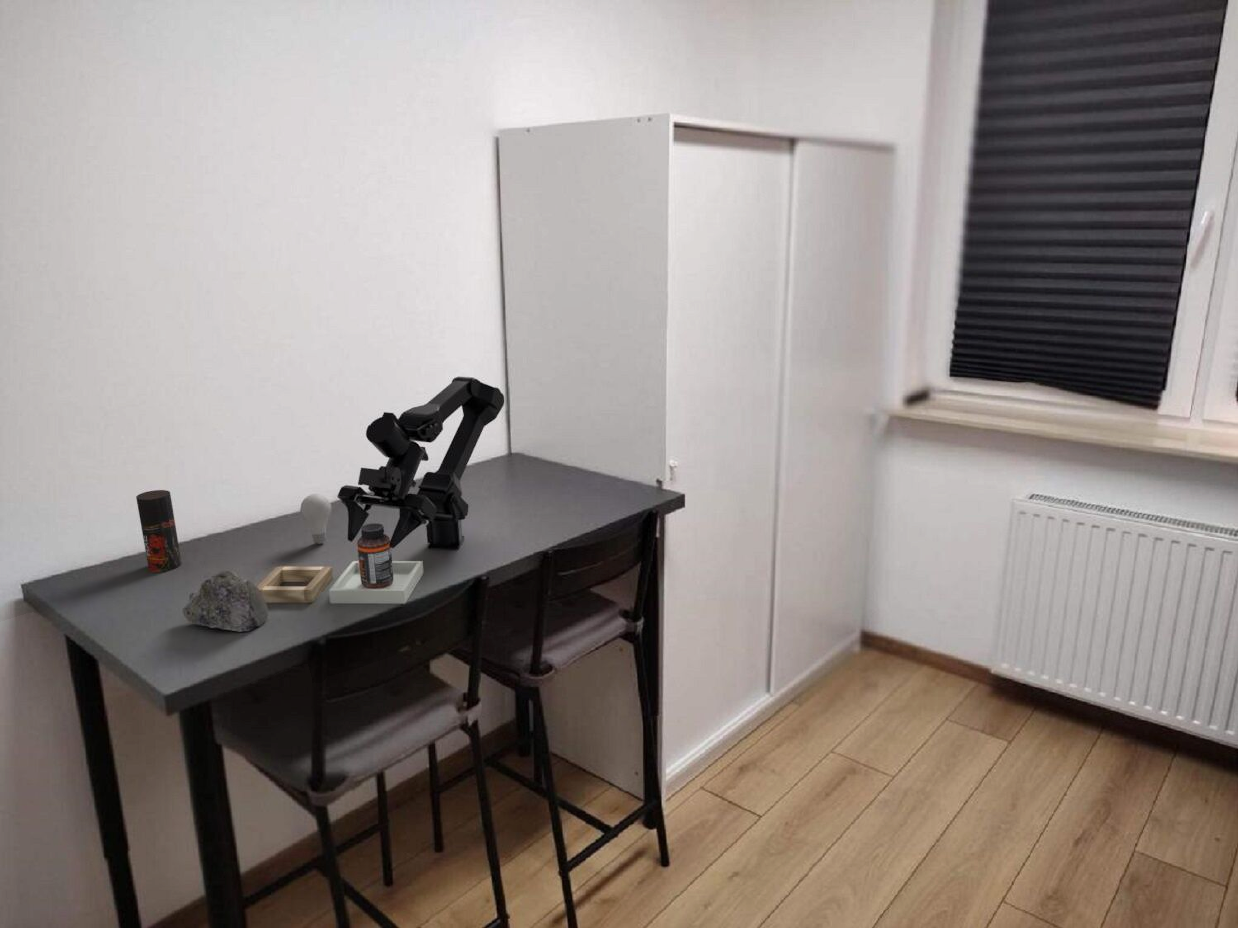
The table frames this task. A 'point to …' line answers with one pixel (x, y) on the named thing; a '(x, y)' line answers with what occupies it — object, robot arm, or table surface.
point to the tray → (394, 593)
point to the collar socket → (295, 594)
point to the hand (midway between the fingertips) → (370, 544)
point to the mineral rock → (227, 603)
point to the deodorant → (159, 530)
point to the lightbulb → (316, 515)
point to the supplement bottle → (375, 557)
